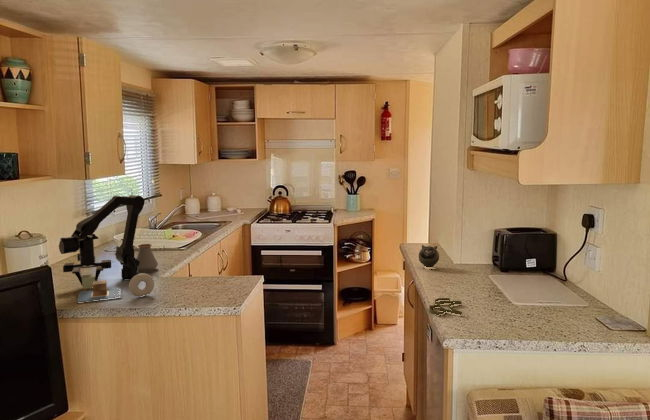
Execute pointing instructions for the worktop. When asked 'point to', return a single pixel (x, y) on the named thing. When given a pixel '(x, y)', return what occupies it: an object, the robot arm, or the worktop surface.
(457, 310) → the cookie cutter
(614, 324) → the worktop surface
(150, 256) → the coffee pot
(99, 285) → the walnut cube
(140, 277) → the donut
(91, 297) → the board
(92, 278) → the sage cube
